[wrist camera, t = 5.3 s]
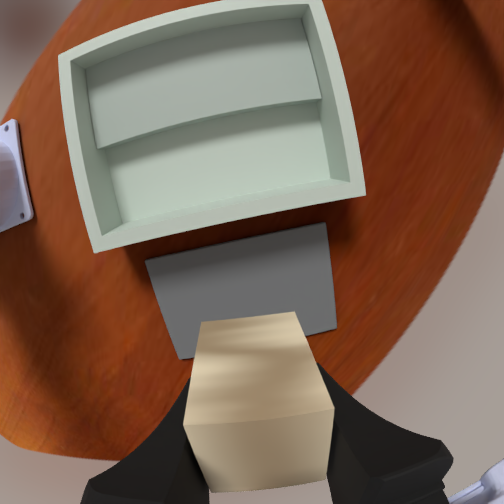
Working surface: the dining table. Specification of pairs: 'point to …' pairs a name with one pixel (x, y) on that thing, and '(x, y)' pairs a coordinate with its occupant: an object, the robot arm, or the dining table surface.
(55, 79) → the dining table surface
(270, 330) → the birch block
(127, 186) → the box
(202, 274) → the mat
